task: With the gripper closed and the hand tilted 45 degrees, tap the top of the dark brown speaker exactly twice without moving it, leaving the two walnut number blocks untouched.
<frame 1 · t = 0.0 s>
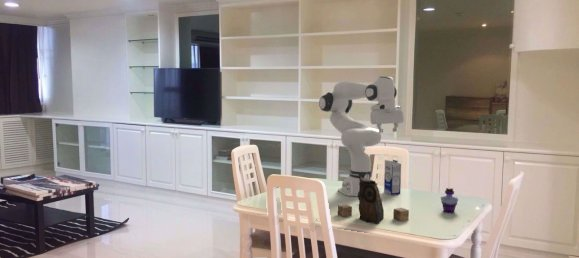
hand: (387, 132, 246), 39 cm above the table, tool pointing down, fingers open, 8 cm apart
walnut block two: (400, 219, 219), on the table
walnut block one: (344, 215, 226), on the table
dark brown speaker: (373, 220, 219), on the table
potion bottle: (448, 211, 233), on the table
milk carton: (392, 193, 272), on the table
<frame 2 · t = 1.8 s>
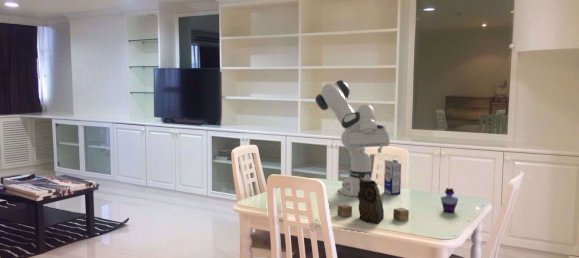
hand: (370, 152, 228), 31 cm above the table, tool tilted 45°, fingers open, 8 cm apart
nothing on the table moved.
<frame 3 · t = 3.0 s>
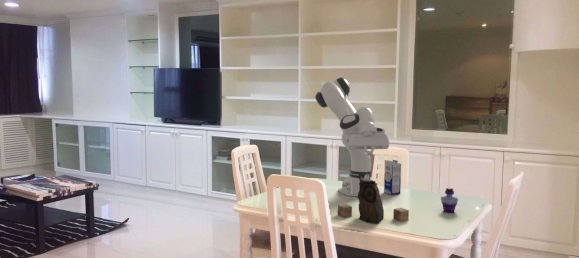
hand: (369, 154, 226), 30 cm above the table, tool tilted 45°, fingers closed
nothing on the table moved.
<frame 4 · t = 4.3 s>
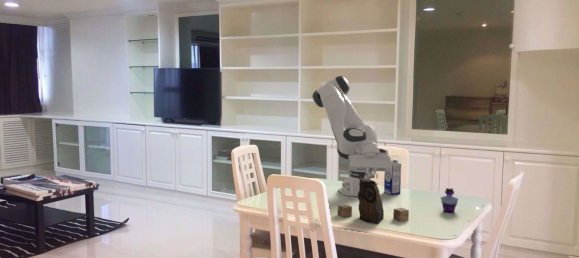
hand: (371, 177, 217), 20 cm above the table, tool tilted 45°, fingers closed
dark brown speaker: (373, 220, 219), on the table, touching gripper
everything else where it was.
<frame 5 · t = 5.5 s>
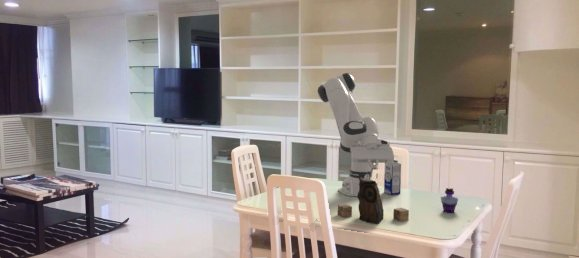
hand: (373, 168, 217), 25 cm above the table, tool tilted 45°, fingers closed
dark brown speaker: (373, 220, 219), on the table
everything else where it was.
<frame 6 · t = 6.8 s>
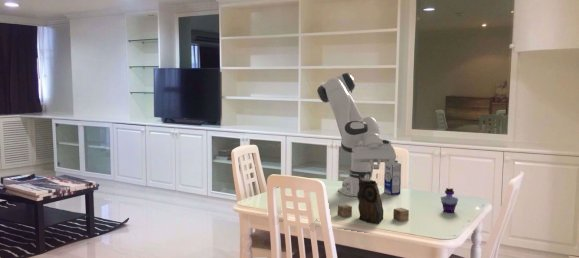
hand: (376, 168, 217), 25 cm above the table, tool tilted 45°, fingers closed
nothing on the table moved.
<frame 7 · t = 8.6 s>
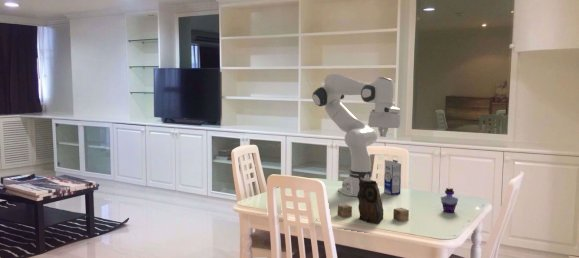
hand: (382, 136, 232), 38 cm above the table, tool pointing down, fingers closed
nothing on the table moved.
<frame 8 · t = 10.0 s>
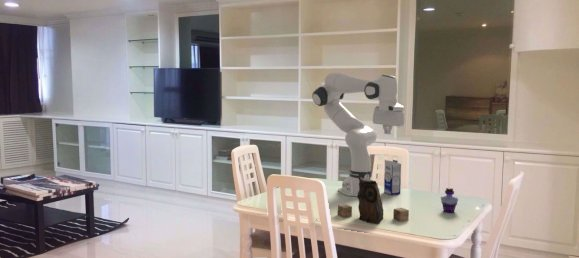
hand: (387, 133, 234), 39 cm above the table, tool pointing down, fingers closed
nothing on the table moved.
at the end: dark brown speaker moved 0.2 cm from its start; dark brown speaker tilted 0°; walnut block two moved 0.1 cm from its start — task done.
